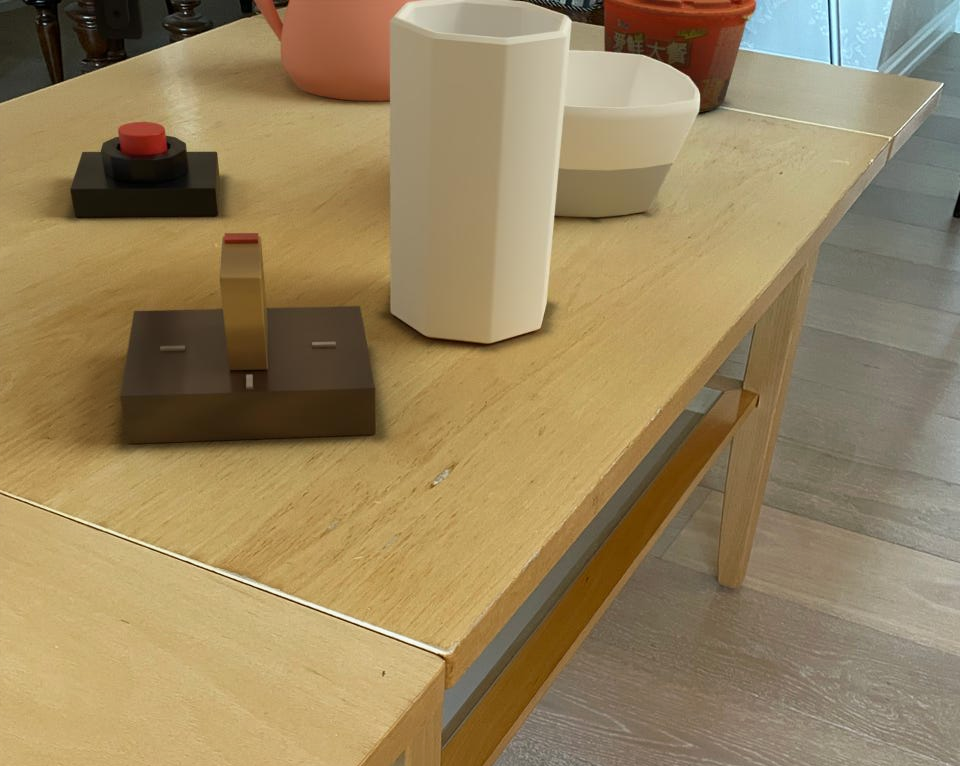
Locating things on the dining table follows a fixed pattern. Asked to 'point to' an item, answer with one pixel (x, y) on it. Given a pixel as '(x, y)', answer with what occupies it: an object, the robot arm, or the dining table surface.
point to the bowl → (620, 132)
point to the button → (142, 138)
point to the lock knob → (244, 301)
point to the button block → (146, 182)
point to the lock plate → (247, 378)
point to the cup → (474, 164)
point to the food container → (682, 37)
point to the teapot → (336, 45)
